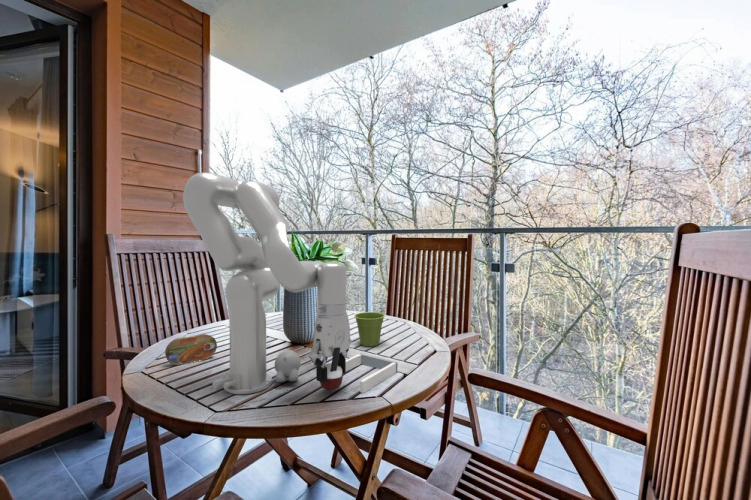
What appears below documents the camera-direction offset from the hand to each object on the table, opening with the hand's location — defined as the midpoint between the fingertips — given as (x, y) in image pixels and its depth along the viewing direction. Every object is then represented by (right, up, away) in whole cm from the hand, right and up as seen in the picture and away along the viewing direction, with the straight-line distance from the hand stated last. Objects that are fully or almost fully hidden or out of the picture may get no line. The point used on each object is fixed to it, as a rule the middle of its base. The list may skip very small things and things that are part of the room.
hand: (331, 376), depth 93 cm
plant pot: (+9, -3, +43) cm, 44 cm away
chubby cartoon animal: (-14, -4, +9) cm, 17 cm away
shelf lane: (+8, -4, +11) cm, 14 cm away
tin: (-49, -3, +23) cm, 54 cm away
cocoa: (0, -3, 0) cm, 3 cm away
